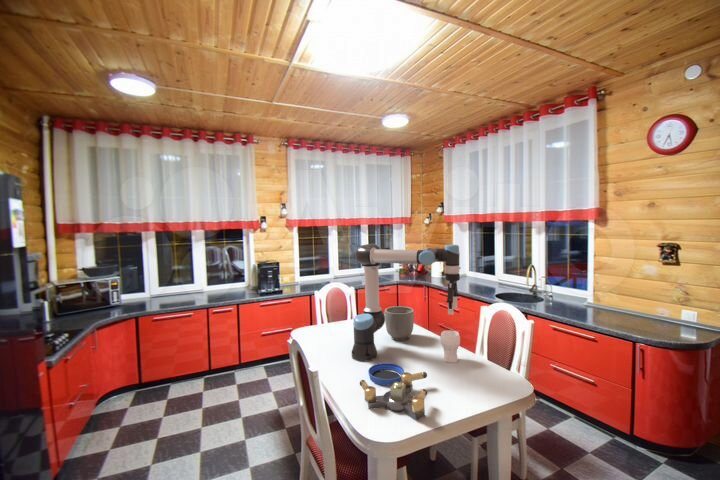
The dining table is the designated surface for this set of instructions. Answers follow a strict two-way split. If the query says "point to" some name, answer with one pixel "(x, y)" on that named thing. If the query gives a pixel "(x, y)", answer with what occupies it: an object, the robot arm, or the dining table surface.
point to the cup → (450, 345)
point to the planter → (399, 322)
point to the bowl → (385, 373)
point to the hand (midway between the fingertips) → (452, 311)
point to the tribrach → (397, 400)
